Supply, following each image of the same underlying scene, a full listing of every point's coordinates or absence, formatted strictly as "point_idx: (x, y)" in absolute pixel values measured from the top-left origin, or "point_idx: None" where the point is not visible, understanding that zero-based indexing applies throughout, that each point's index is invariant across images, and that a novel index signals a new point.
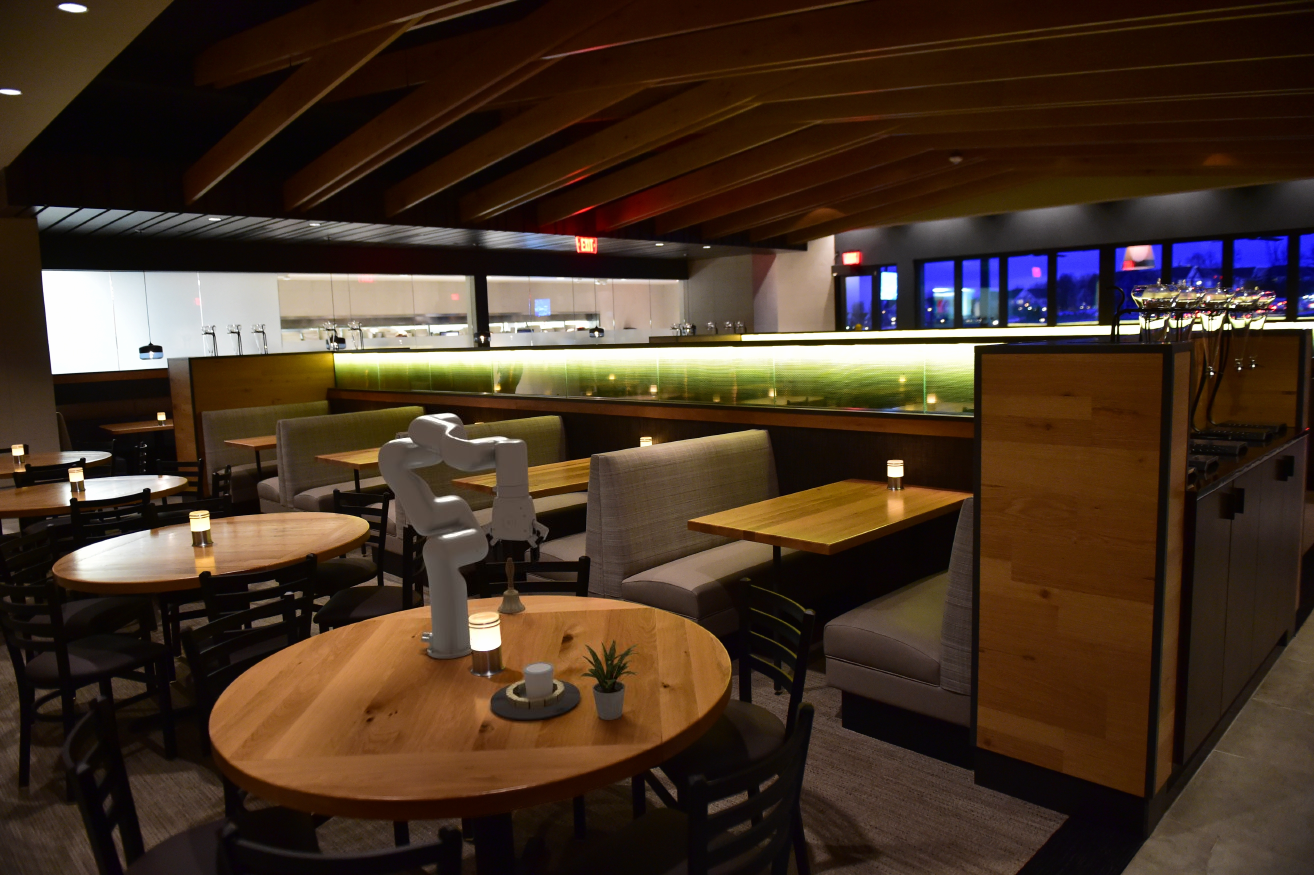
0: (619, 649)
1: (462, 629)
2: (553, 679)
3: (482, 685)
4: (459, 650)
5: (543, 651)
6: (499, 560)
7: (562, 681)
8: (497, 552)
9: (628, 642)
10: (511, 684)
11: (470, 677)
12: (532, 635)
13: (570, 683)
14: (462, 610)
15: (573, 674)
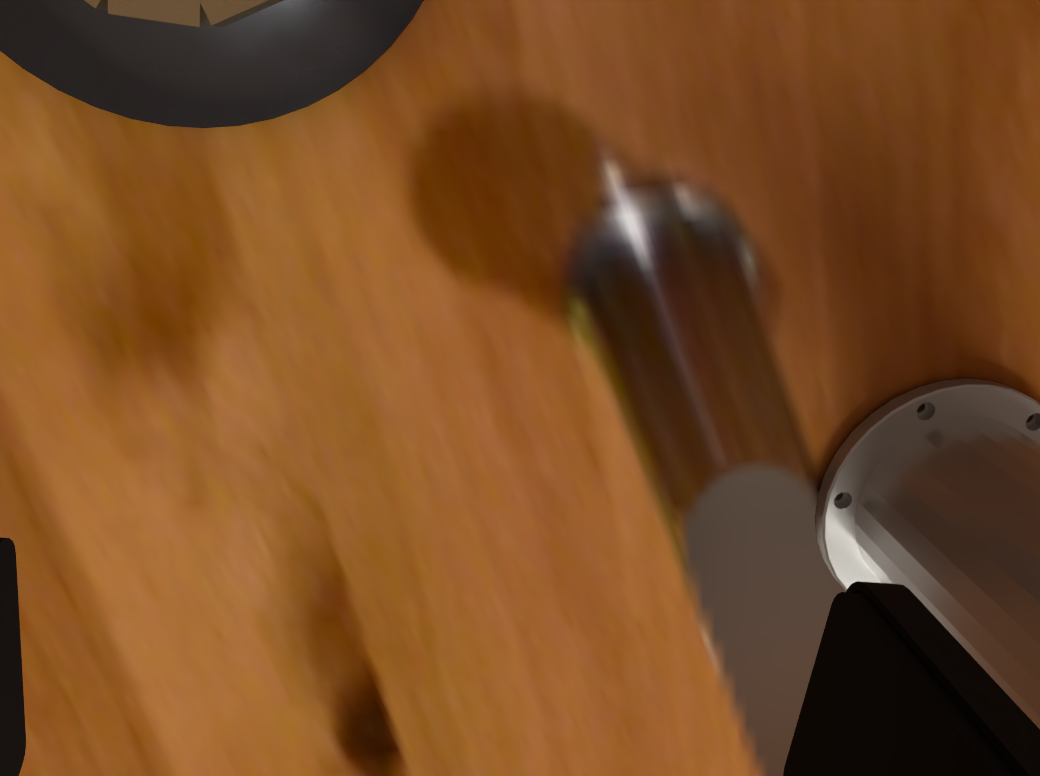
0: None
1: (935, 531)
2: (174, 125)
3: (611, 45)
4: (891, 453)
5: (433, 561)
6: (815, 663)
7: (100, 98)
8: (930, 739)
9: None
10: (412, 12)
11: (722, 155)
12: (573, 744)
13: (32, 72)
14: (1005, 609)
15: (119, 275)
